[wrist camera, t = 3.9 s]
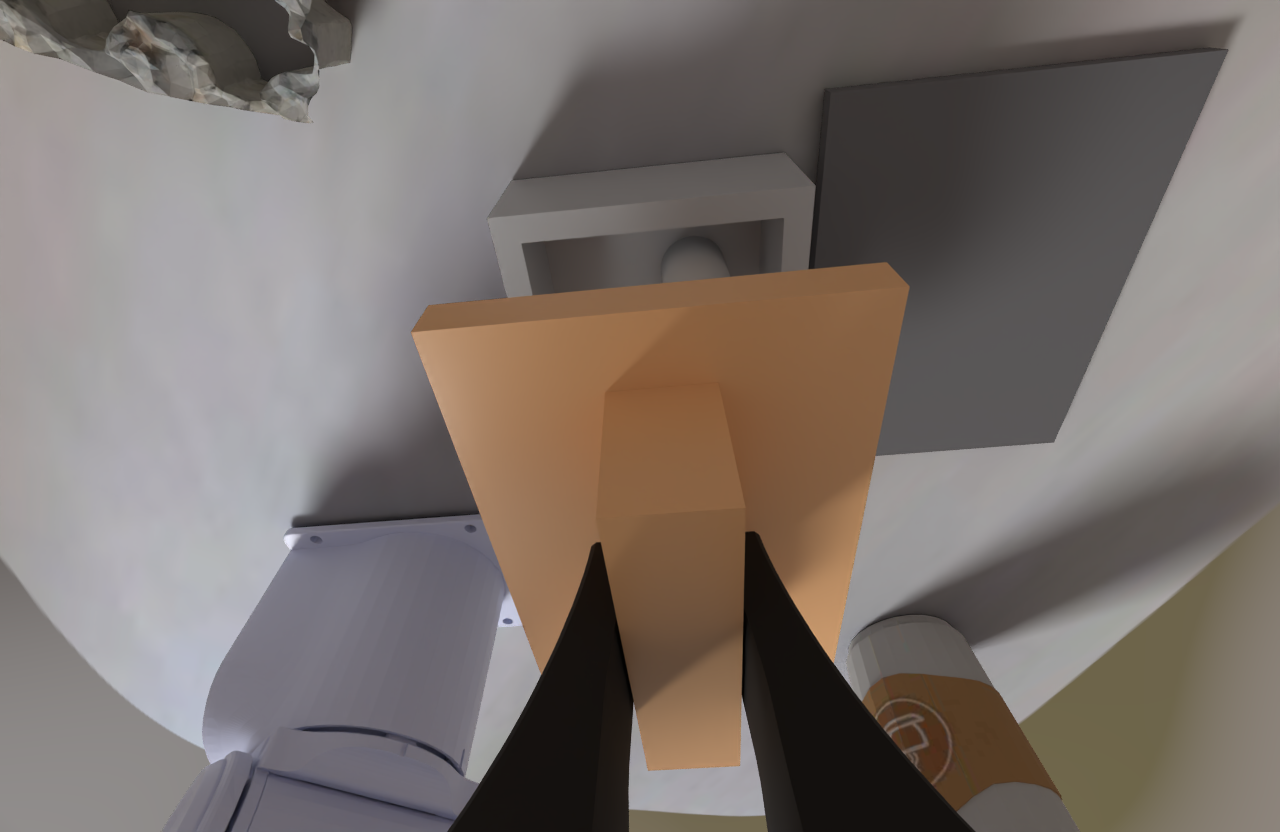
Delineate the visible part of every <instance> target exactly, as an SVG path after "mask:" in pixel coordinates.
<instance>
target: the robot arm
mask: <svg viewBox="0 0 1280 832" xmlns="http://www.w3.org/2000/svg"><path fill="white" fill-rule="evenodd" d="M470 525H473V526H470ZM283 539H284V542H285V543H286V545H287V546H288V547H289V549H290V550H291V551H290V553H289V554H288V556H287V557H286V559H285V561H284V562H283V564H282V566H281V567H280V569H279V570H278V572H277V574H276V575H275V577H274V579H273V580H272V582H271V583H270V585H269V587H268V588H267V590H266V592H265V593H264V595H263V596H262V598H261V600H260V601H259V603H258V605H257V606H256V608H255V609H254V611H253V613H252V614H251V616H250V618H249V619H248V621H247V622H246V624H245V626H244V627H243V629H242V631H241V632H240V634H239V635H238V637H237V639H236V640H235V642H234V643H233V645H232V647H231V648H230V650H229V652H228V653H227V655H226V656H225V658H224V660H223V661H222V663H221V665H220V667H219V669H218V671H217V673H216V675H215V678H214V680H213V682H212V685H211V688H210V691H209V694H208V698H207V702H206V706H205V711H204V717H203V727H202V736H203V744H204V748H205V752H206V755H207V758H208V760H209V762H210V764H211V765H209V766H207V767H205V768H204V769H203V770H202V771H201V772H200V773H199V774H198V776H197V777H196V778H195V780H194V781H193V783H192V784H191V785H190V787H189V788H188V790H187V791H186V793H185V795H184V796H183V797H182V799H181V800H180V802H179V803H178V805H177V806H176V808H175V810H174V811H173V813H172V814H171V816H170V818H169V819H168V821H167V822H166V824H165V826H164V827H163V829H162V831H161V832H629V800H628V787H629V761H630V746H631V732H632V717H633V702H634V700H633V695H632V690H631V686H630V681H629V676H628V671H627V666H626V661H625V656H624V652H623V647H622V642H621V637H620V632H619V627H618V623H617V618H616V613H615V608H614V603H613V598H612V594H611V589H610V584H609V579H608V574H607V569H606V565H605V560H604V555H603V550H602V545H601V542H596V543H595V544H593V545H592V546H591V549H590V553H589V557H588V561H587V564H586V567H585V571H584V574H583V577H582V580H581V583H580V586H579V588H578V591H577V594H576V597H575V599H574V602H573V605H572V607H571V610H570V612H569V614H568V617H567V619H566V622H565V624H564V626H563V629H562V631H561V634H560V636H559V638H558V641H557V643H556V645H555V647H554V650H553V652H552V654H551V656H550V658H549V660H548V662H547V664H546V666H545V668H544V670H543V672H542V675H541V677H540V679H539V681H538V683H537V685H536V687H535V689H534V691H533V693H532V695H531V697H530V698H529V700H528V702H527V704H526V706H525V708H524V710H523V712H522V713H521V715H520V717H519V719H518V721H517V722H516V724H515V726H514V728H513V729H512V731H511V733H510V735H509V736H508V738H507V740H506V742H505V743H504V745H503V747H502V748H501V750H500V752H499V753H498V755H497V756H496V758H495V760H494V761H493V763H492V765H491V766H490V768H489V769H488V771H487V773H486V774H485V776H484V778H483V779H482V781H481V782H480V784H479V783H476V782H473V781H470V780H468V779H466V778H465V775H466V770H467V766H468V761H469V756H470V752H471V747H472V742H473V738H474V733H475V729H476V724H477V719H478V715H479V710H480V705H481V701H482V696H483V691H484V687H485V682H486V678H487V673H488V668H489V664H490V659H491V654H492V650H493V645H494V640H495V636H496V631H497V627H508V626H521V625H522V623H521V620H520V617H519V615H518V612H517V609H516V607H515V604H514V602H513V599H512V596H511V594H510V591H509V588H508V586H507V583H506V581H505V578H504V575H503V573H502V570H501V567H500V565H499V562H498V560H497V557H496V554H495V552H494V549H493V547H492V544H491V541H490V539H489V536H488V533H487V531H486V528H485V526H484V523H483V520H482V518H481V515H480V514H477V515H463V516H450V517H436V518H422V519H409V520H395V521H381V522H368V523H354V524H340V525H327V526H313V527H299V528H291V529H289V530H287V532H286V533H285V535H284V537H283ZM742 698H743V702H744V707H745V711H746V716H747V720H748V724H749V729H750V733H751V738H752V742H753V746H754V751H755V755H756V760H757V765H758V770H759V776H760V781H761V787H762V794H763V801H764V808H765V815H766V821H767V828H768V832H976V831H975V830H974V829H973V828H972V827H971V826H970V825H969V824H968V823H967V822H966V821H965V820H964V819H963V818H962V817H961V816H960V815H959V814H958V813H957V812H956V811H955V810H954V808H953V807H952V806H951V805H950V804H949V803H948V802H947V801H946V800H945V799H944V797H943V796H942V795H941V794H940V793H939V792H938V791H937V790H936V789H935V787H934V786H933V785H932V784H931V783H930V782H929V781H928V780H927V779H926V778H925V776H924V775H923V774H922V773H921V772H920V771H919V770H918V769H917V768H916V766H915V765H914V764H913V763H912V762H911V761H910V760H909V759H908V758H907V756H906V755H905V754H904V753H903V752H902V751H901V749H900V748H899V747H898V746H897V745H896V743H895V742H894V741H893V740H892V739H891V737H890V736H889V735H888V734H887V733H886V731H885V730H884V729H883V728H882V727H881V725H880V724H879V723H878V722H877V720H876V719H875V718H874V717H873V715H872V714H871V713H870V711H869V710H868V709H867V708H866V706H865V705H864V704H863V703H862V701H861V700H860V699H859V697H858V696H857V695H856V693H855V692H854V691H853V690H852V688H851V687H850V685H849V684H848V683H847V681H846V680H845V679H844V677H843V676H842V675H841V673H840V672H839V670H838V669H837V667H836V666H835V665H834V663H833V662H832V660H831V659H830V658H829V656H828V655H827V653H826V652H825V650H824V649H823V647H822V646H821V644H820V643H819V641H818V640H817V638H816V637H815V635H814V634H813V632H812V631H811V629H810V628H809V626H808V624H807V623H806V621H805V620H804V618H803V616H802V615H801V613H800V612H799V610H798V608H797V607H796V605H795V604H794V602H793V600H792V598H791V597H790V595H789V593H788V592H787V590H786V588H785V586H784V584H783V583H782V581H781V579H780V577H779V575H778V573H777V572H776V570H775V568H774V566H773V564H772V562H771V560H770V558H769V556H768V554H767V551H766V549H765V547H764V545H763V542H762V540H761V537H760V535H759V534H758V533H756V532H755V531H749V532H745V565H744V609H743V654H742Z"/></svg>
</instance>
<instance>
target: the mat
mask: <svg viewBox="0 0 1280 832" xmlns="http://www.w3.org/2000/svg"><path fill="white" fill-rule="evenodd" d="M1227 52H1228V49H1217V48H1202V49H1193V50H1184V51H1175V52H1165V53H1156V54H1147V55H1138V56H1128V57H1119V58H1110V59H1101V60H1091V61H1082V62H1073V63H1064V64H1054V65H1045V66H1036V67H1027V68H1017V69H1008V70H999V71H990V72H980V73H971V74H962V75H953V76H943V77H934V78H925V79H915V80H906V81H897V82H888V83H878V84H869V85H860V86H851V87H841V88H832V89H825V92H824V103H823V115H822V126H821V137H820V149H819V160H818V172H817V183H816V194H815V206H814V217H813V228H812V240H811V251H810V262H809V269H819V268H829V267H840V266H851V265H861V264H872V263H883V262H887V263H888V264H889V265H890V266H891V267H892V268H893V269H894V270H895V271H896V273H897V274H898V275H899V276H900V277H901V278H902V279H903V280H904V281H905V282H906V283H907V284H908V285H909V286H910V287H909V292H908V297H907V302H906V307H905V312H904V317H903V322H902V327H901V332H900V337H899V342H898V346H897V351H896V356H895V361H894V366H893V371H892V376H891V381H890V386H889V391H888V396H887V401H886V406H885V411H884V416H883V421H882V426H881V431H880V436H879V441H878V446H877V450H876V455H875V456H880V455H893V454H907V453H920V452H933V451H946V450H959V449H973V448H986V447H999V446H1012V445H1025V444H1039V443H1052V442H1054V441H1055V439H1056V436H1057V434H1058V432H1059V430H1060V427H1061V425H1062V423H1063V421H1064V418H1065V416H1066V414H1067V412H1068V409H1069V407H1070V405H1071V403H1072V400H1073V398H1074V396H1075V394H1076V392H1077V389H1078V387H1079V385H1080V383H1081V380H1082V378H1083V376H1084V374H1085V371H1086V369H1087V367H1088V365H1089V362H1090V360H1091V358H1092V356H1093V353H1094V351H1095V349H1096V347H1097V344H1098V342H1099V340H1100V338H1101V335H1102V333H1103V331H1104V329H1105V326H1106V324H1107V322H1108V320H1109V317H1110V315H1111V313H1112V311H1113V308H1114V306H1115V304H1116V302H1117V299H1118V297H1119V295H1120V293H1121V290H1122V288H1123V286H1124V284H1125V281H1126V279H1127V277H1128V275H1129V272H1130V270H1131V268H1132V266H1133V263H1134V261H1135V259H1136V257H1137V254H1138V252H1139V250H1140V248H1141V245H1142V243H1143V241H1144V239H1145V236H1146V234H1147V232H1148V230H1149V227H1150V225H1151V223H1152V221H1153V218H1154V216H1155V214H1156V212H1157V209H1158V207H1159V205H1160V203H1161V200H1162V198H1163V196H1164V194H1165V191H1166V189H1167V187H1168V185H1169V182H1170V180H1171V178H1172V176H1173V173H1174V171H1175V169H1176V167H1177V165H1178V162H1179V160H1180V158H1181V156H1182V153H1183V151H1184V149H1185V147H1186V144H1187V142H1188V140H1189V138H1190V135H1191V133H1192V131H1193V129H1194V126H1195V124H1196V122H1197V120H1198V117H1199V115H1200V113H1201V111H1202V108H1203V106H1204V104H1205V102H1206V99H1207V97H1208V95H1209V93H1210V90H1211V88H1212V86H1213V84H1214V81H1215V79H1216V77H1217V75H1218V72H1219V70H1220V68H1221V66H1222V63H1223V61H1224V59H1225V57H1226V54H1227Z"/></svg>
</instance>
